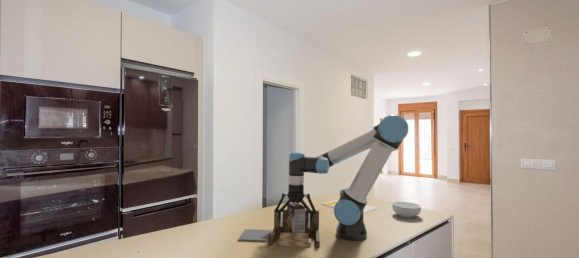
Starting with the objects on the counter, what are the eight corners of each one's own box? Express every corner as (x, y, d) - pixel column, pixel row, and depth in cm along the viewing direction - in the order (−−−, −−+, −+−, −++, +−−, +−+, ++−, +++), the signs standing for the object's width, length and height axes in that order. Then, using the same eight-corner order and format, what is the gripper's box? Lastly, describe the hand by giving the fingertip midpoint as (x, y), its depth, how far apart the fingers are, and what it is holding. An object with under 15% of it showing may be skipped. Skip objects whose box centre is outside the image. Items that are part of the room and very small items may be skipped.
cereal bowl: (424, 220, 171) (424, 208, 171) (395, 219, 173) (395, 207, 173) (416, 212, 187) (416, 201, 187) (389, 211, 190) (390, 200, 190)
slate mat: (271, 231, 149) (271, 230, 149) (267, 242, 136) (267, 240, 136) (245, 230, 151) (245, 229, 151) (238, 240, 137) (238, 239, 137)
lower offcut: (310, 243, 135) (310, 238, 135) (310, 247, 131) (311, 242, 131) (279, 242, 136) (279, 237, 136) (278, 246, 132) (278, 241, 132)
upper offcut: (308, 238, 135) (308, 233, 135) (308, 241, 131) (308, 236, 131) (280, 237, 136) (280, 232, 136) (279, 241, 132) (280, 235, 132)
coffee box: (286, 235, 145) (286, 203, 145) (298, 233, 147) (298, 202, 147) (292, 242, 136) (293, 207, 136) (305, 240, 138) (305, 206, 138)
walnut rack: (318, 233, 147) (319, 210, 148) (319, 247, 130) (319, 221, 130) (274, 231, 149) (274, 208, 149) (269, 245, 131) (269, 219, 131)
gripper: (321, 183, 144) (320, 225, 144) (272, 181, 146) (271, 222, 146) (321, 186, 137) (320, 230, 137) (270, 184, 139) (269, 227, 139)
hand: (295, 226), depth 142 cm, fingers open, 13 cm apart
